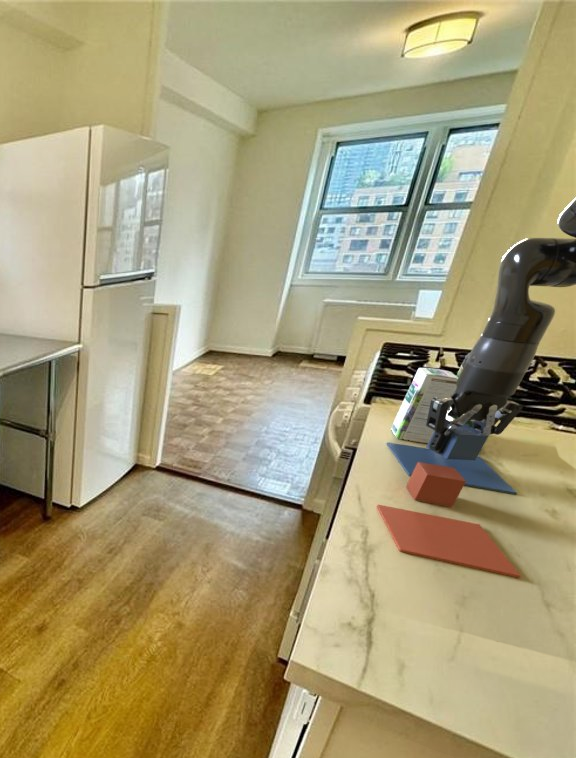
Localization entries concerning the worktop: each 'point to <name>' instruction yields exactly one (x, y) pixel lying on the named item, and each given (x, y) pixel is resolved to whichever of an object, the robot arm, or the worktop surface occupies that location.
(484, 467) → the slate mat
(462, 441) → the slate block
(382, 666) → the worktop surface
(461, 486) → the terracotta block
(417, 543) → the terracotta mat
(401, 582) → the worktop surface
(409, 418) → the syrup box
